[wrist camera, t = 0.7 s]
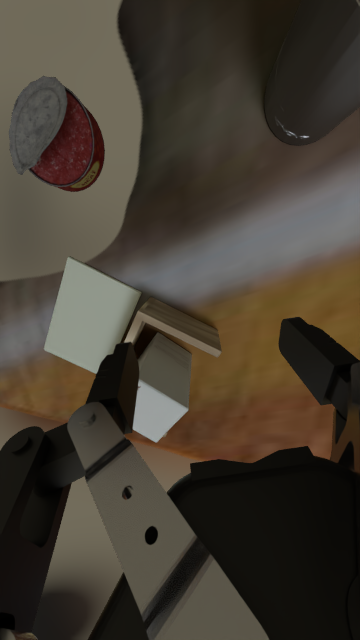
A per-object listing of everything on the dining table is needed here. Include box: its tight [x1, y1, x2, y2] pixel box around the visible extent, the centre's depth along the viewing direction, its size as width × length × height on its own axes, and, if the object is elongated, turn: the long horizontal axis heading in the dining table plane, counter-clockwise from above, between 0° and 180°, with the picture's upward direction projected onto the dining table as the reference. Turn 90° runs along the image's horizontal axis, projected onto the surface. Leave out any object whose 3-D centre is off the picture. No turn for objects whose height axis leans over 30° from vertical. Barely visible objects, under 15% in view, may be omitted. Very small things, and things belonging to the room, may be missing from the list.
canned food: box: [9, 76, 105, 192], centre depth 24 cm, size 11×10×10 cm
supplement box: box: [133, 332, 192, 442], centre depth 31 cm, size 7×7×13 cm
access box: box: [124, 297, 222, 437], centre depth 33 cm, size 18×12×7 cm, turn 154°
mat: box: [44, 257, 142, 374], centre depth 35 cm, size 18×12×1 cm, turn 154°
